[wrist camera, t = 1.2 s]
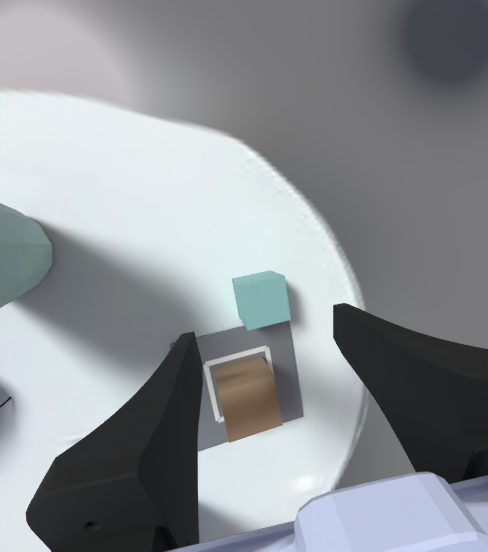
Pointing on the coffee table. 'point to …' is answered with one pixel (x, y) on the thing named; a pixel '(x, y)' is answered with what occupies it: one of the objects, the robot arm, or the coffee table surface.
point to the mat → (239, 347)
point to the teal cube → (261, 299)
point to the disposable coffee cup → (21, 254)
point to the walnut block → (248, 398)
